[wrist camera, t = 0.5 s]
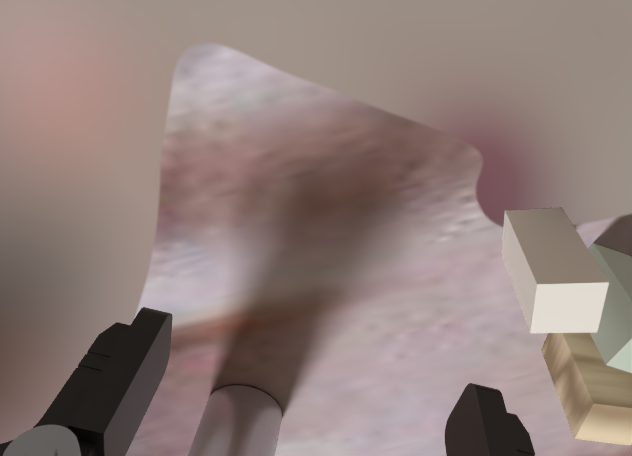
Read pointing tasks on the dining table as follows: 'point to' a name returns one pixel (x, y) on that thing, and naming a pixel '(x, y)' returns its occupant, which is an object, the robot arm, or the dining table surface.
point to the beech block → (590, 389)
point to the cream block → (552, 272)
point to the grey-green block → (615, 308)
